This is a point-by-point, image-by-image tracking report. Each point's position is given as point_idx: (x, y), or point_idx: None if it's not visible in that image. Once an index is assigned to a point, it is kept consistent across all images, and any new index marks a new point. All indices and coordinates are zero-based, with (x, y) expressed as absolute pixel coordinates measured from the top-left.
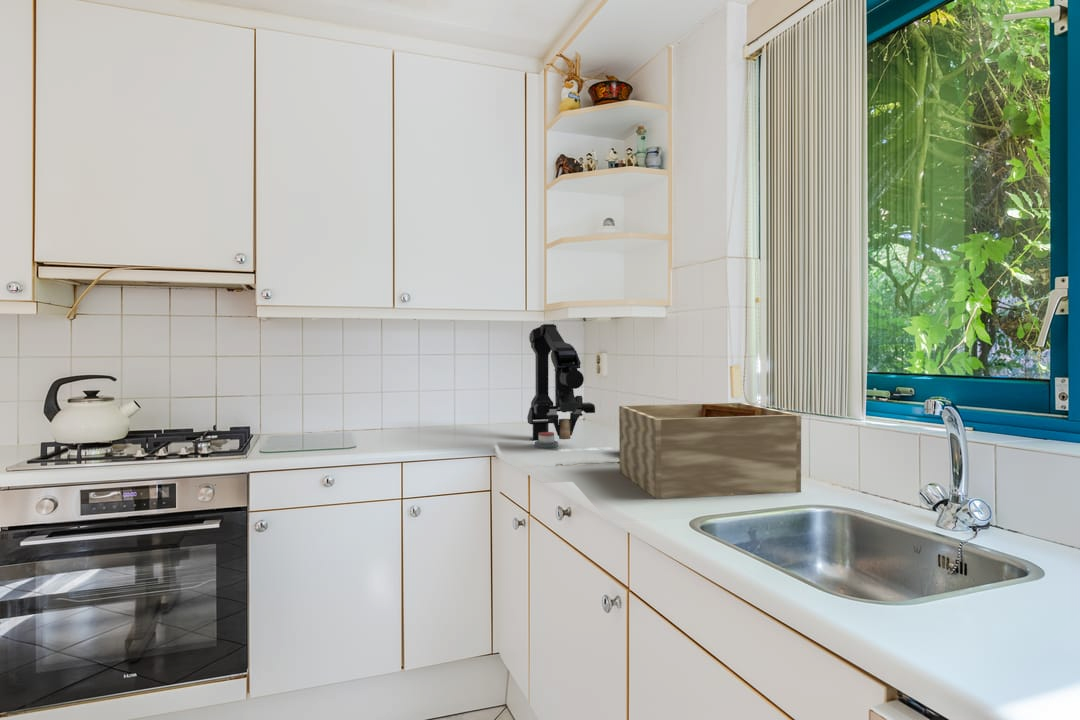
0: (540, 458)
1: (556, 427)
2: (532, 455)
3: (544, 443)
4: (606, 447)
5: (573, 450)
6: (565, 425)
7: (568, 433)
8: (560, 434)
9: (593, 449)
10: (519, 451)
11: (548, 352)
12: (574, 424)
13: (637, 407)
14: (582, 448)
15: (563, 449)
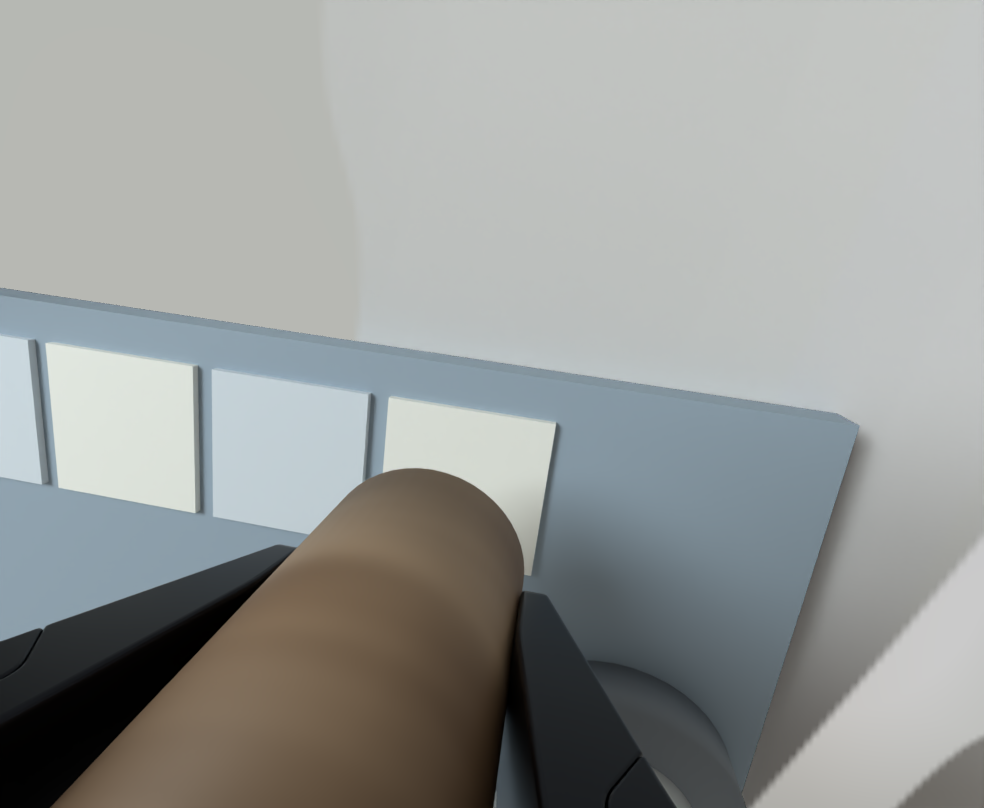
0: (879, 296)
1: (605, 717)
2: (885, 522)
3: None
4: None
5: (363, 419)
6: (326, 641)
7: (336, 520)
8: (506, 575)
9: (114, 394)
10: (919, 790)
11: None
12: (20, 646)
13: None
14: (226, 499)
15: None
